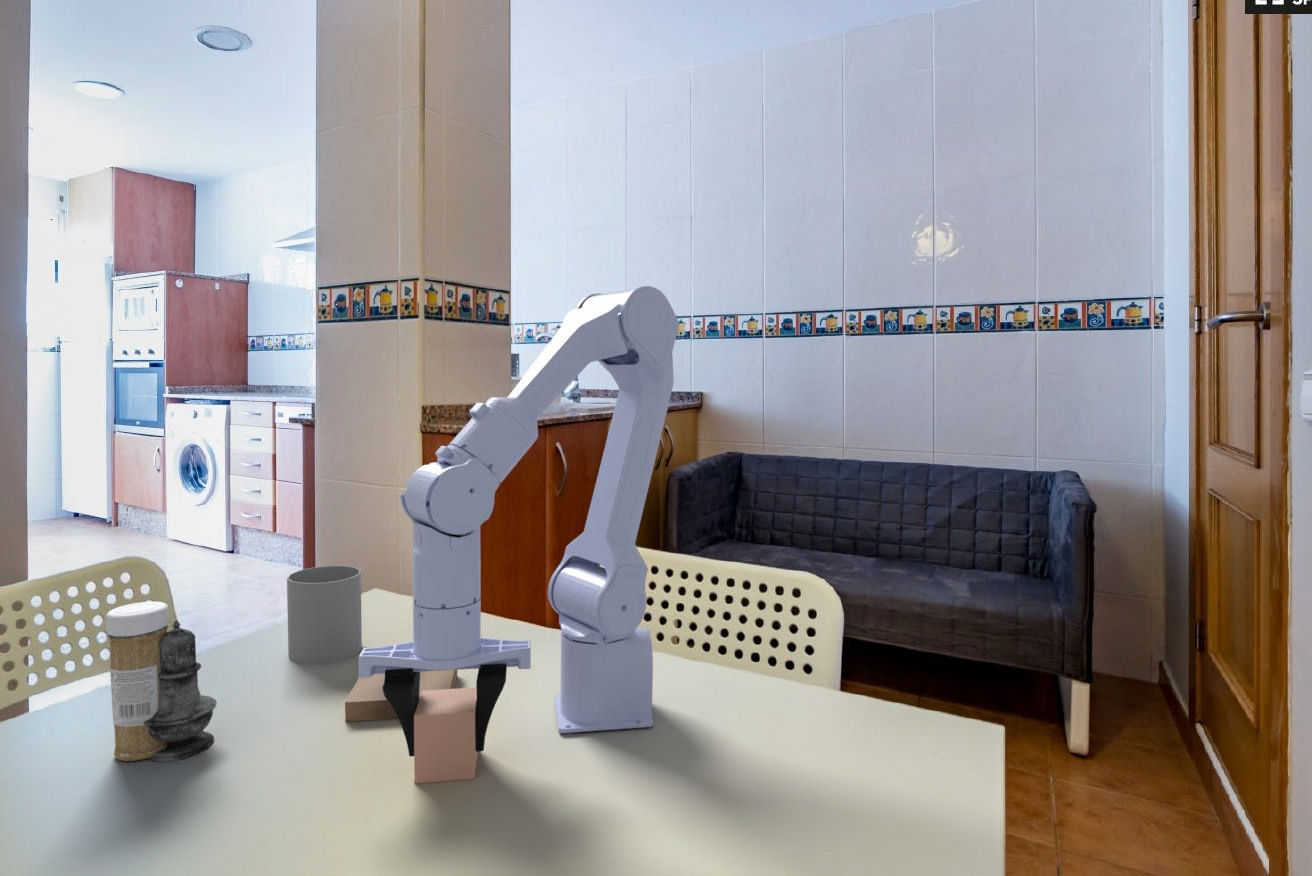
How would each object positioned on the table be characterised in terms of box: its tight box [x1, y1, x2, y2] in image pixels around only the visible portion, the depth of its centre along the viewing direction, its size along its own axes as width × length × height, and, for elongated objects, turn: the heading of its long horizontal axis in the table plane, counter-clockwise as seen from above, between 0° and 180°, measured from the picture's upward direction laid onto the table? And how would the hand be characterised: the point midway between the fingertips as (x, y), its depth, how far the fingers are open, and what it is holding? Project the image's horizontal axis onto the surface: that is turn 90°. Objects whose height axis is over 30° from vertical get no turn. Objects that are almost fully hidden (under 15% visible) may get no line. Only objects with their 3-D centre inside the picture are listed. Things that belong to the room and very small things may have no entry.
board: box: [344, 670, 458, 723], centre depth 77 cm, size 10×10×2 cm
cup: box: [286, 565, 363, 666], centre depth 89 cm, size 8×8×10 cm
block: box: [413, 687, 479, 784], centre depth 63 cm, size 5×5×6 cm
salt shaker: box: [144, 620, 217, 763], centre depth 65 cm, size 6×6×12 cm
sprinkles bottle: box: [105, 601, 170, 762], centre depth 64 cm, size 5×5×14 cm
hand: (447, 748), depth 63 cm, fingers closed on block, 5 cm apart
